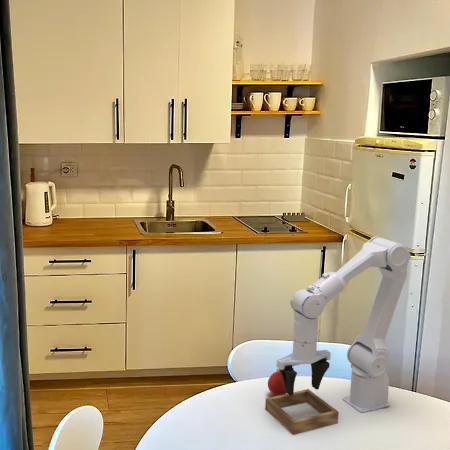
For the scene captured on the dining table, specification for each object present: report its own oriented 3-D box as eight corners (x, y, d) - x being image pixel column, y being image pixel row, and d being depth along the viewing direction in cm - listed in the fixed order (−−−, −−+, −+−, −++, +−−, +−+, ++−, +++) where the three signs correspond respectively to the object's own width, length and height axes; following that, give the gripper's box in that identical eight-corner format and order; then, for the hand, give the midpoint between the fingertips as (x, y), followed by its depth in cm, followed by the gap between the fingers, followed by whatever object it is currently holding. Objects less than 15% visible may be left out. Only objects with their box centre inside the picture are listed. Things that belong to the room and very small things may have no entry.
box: (307, 399, 155) (308, 389, 155) (337, 423, 144) (338, 411, 143) (265, 409, 150) (265, 398, 149) (293, 434, 138) (293, 423, 138)
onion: (287, 391, 159) (288, 364, 158) (290, 402, 154) (292, 373, 152) (266, 391, 159) (267, 364, 158) (268, 402, 153) (269, 373, 152)
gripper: (320, 329, 150) (317, 378, 152) (271, 337, 143) (269, 389, 146) (337, 338, 143) (333, 390, 146) (286, 348, 137) (284, 402, 140)
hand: (302, 390), depth 146 cm, fingers open, 7 cm apart
